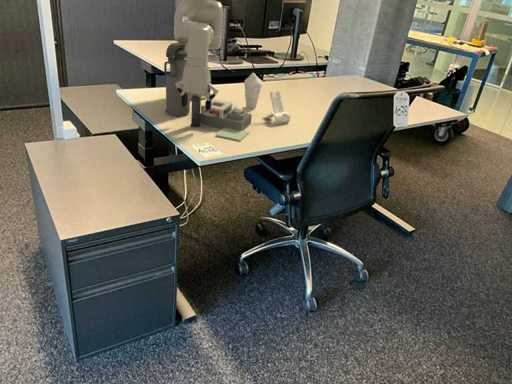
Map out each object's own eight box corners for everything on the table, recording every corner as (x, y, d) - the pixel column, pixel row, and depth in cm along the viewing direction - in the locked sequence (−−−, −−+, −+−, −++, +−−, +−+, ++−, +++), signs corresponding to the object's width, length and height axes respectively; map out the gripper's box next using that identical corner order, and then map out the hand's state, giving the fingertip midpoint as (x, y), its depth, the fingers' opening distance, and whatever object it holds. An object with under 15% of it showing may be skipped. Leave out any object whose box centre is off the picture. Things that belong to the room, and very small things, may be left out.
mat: (215, 136, 158) (215, 134, 158) (225, 128, 167) (225, 126, 167) (240, 141, 156) (240, 139, 156) (249, 133, 165) (249, 131, 164)
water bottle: (178, 118, 172) (179, 47, 158) (160, 112, 176) (159, 42, 162) (194, 113, 179) (196, 44, 166) (176, 107, 184) (177, 40, 170)
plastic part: (275, 126, 176) (279, 98, 170) (261, 118, 182) (264, 91, 177) (289, 123, 180) (293, 97, 174) (275, 116, 187) (278, 90, 181)
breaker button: (210, 117, 170) (210, 110, 169) (213, 114, 174) (214, 107, 172) (219, 119, 170) (219, 112, 168) (222, 116, 173) (222, 109, 171)
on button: (232, 113, 167) (232, 108, 166) (235, 110, 170) (235, 106, 169) (240, 114, 166) (240, 110, 165) (243, 112, 169) (244, 107, 168)
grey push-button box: (198, 123, 169) (199, 105, 165) (210, 115, 179) (211, 98, 175) (241, 132, 164) (242, 114, 161) (250, 123, 175) (252, 106, 171)
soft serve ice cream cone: (248, 103, 199) (251, 69, 192) (263, 107, 196) (267, 73, 188) (238, 107, 193) (241, 72, 185) (254, 111, 189) (257, 75, 182)
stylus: (189, 126, 165) (190, 96, 159) (193, 123, 168) (194, 94, 162) (197, 128, 164) (198, 97, 159) (201, 125, 167) (202, 95, 161)
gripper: (171, 60, 153) (171, 106, 161) (215, 67, 149) (213, 114, 157) (180, 57, 160) (180, 101, 167) (223, 64, 156) (220, 109, 163)
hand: (196, 107), depth 162 cm, fingers open, 9 cm apart
